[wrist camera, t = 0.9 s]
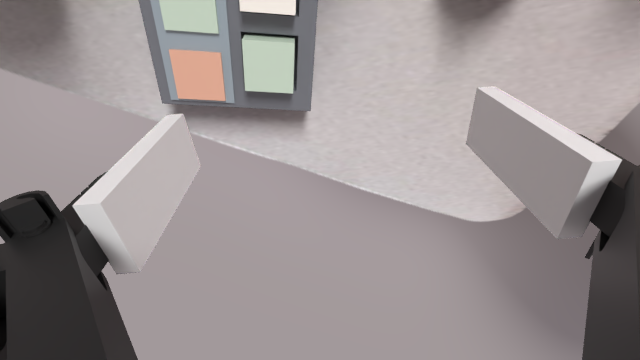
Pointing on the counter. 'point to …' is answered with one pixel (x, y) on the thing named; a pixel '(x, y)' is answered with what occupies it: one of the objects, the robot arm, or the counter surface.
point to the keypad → (223, 52)
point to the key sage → (268, 63)
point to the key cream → (269, 6)
